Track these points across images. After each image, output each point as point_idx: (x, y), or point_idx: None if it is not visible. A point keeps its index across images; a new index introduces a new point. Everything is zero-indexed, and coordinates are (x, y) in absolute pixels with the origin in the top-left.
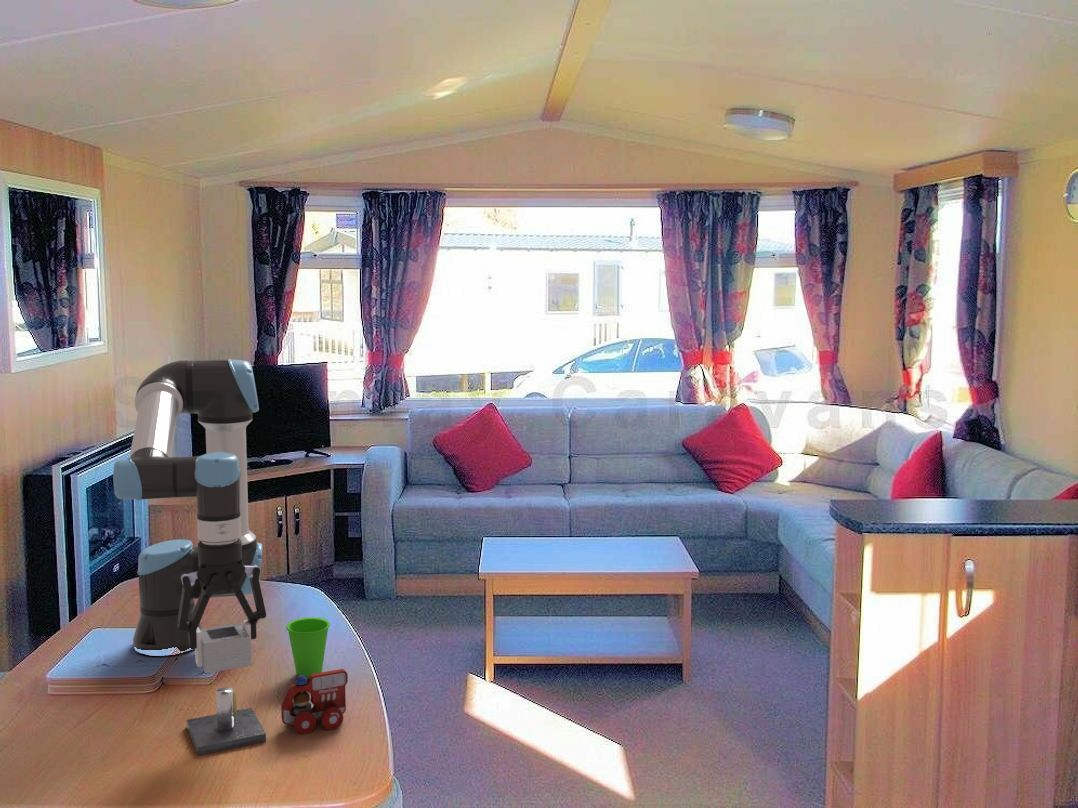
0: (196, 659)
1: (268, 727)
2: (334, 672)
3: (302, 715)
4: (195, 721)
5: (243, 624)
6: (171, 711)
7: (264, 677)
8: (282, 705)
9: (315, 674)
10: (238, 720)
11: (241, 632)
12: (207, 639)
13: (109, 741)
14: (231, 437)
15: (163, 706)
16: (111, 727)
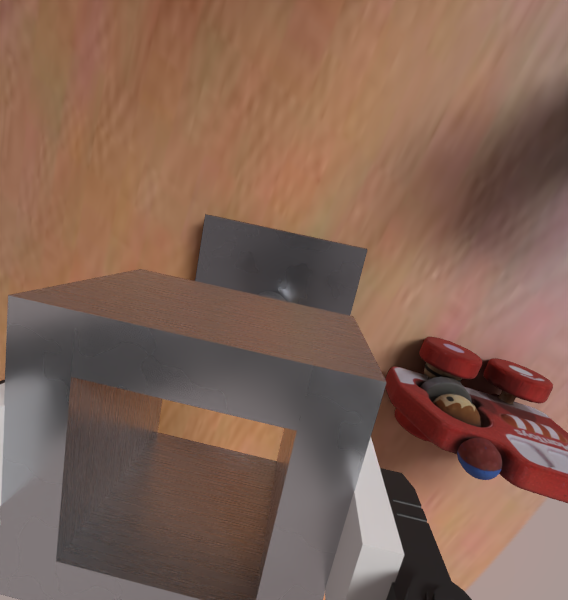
0: None
1: (363, 334)
2: None
3: (420, 437)
4: (220, 238)
5: (355, 515)
6: (208, 94)
7: (524, 15)
8: (395, 402)
9: (538, 480)
10: (307, 299)
11: (284, 582)
12: (34, 542)
13: (48, 173)
14: None
15: (200, 45)
16: (62, 96)
